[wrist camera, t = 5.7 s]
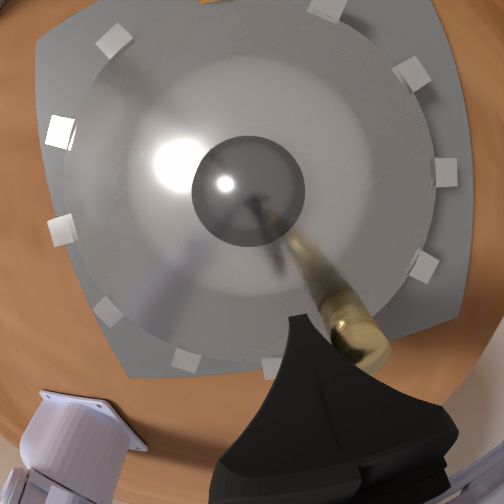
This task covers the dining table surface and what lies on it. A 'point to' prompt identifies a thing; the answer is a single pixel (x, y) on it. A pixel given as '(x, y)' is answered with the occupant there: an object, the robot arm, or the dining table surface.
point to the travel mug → (0, 1)
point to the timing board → (397, 50)
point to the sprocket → (250, 181)
